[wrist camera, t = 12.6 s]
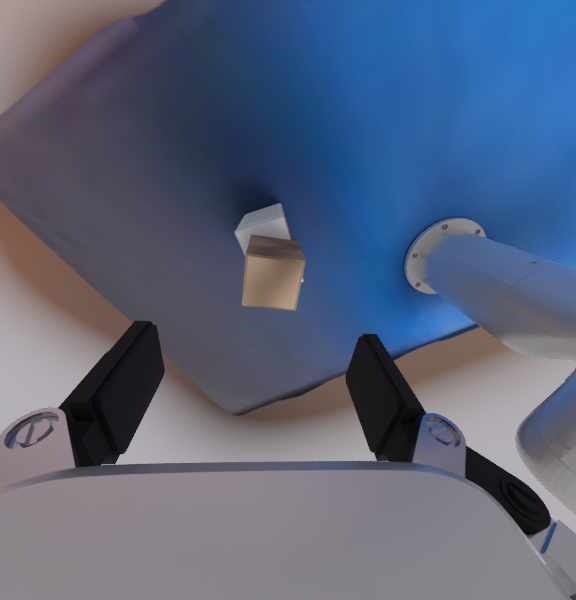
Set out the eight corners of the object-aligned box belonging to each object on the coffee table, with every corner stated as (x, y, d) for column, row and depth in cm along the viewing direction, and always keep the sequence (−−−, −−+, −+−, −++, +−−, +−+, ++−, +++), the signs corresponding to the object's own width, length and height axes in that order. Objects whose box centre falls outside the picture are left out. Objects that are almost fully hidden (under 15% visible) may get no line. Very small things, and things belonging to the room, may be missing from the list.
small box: (296, 253, 37) (305, 283, 27) (262, 264, 37) (260, 296, 28) (281, 201, 33) (285, 215, 23) (243, 213, 33) (233, 232, 24)
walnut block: (298, 241, 25) (305, 261, 20) (290, 283, 27) (295, 311, 22) (251, 234, 24) (245, 253, 19) (247, 278, 27) (241, 305, 21)
